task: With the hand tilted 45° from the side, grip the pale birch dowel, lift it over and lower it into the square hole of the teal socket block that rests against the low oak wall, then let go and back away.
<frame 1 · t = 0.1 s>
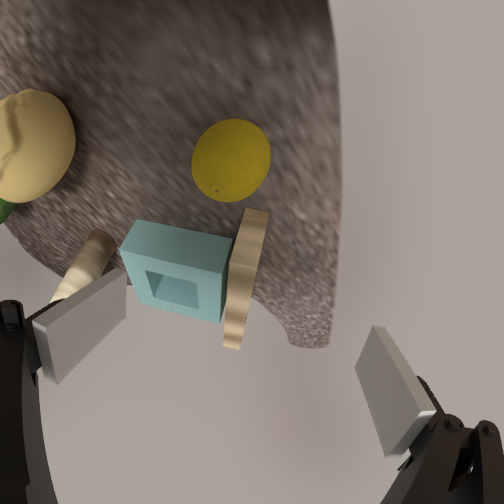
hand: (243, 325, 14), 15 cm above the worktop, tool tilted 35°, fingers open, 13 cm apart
socket block: (185, 259, 37), on the worktop
oak wall: (247, 269, 36), on the worktop
avocado: (14, 175, 31), on the worktop
dowel: (103, 240, 38), on the worktop
sculpture: (52, 121, 23), on the worktop
lemon: (244, 133, 23), on the worktop
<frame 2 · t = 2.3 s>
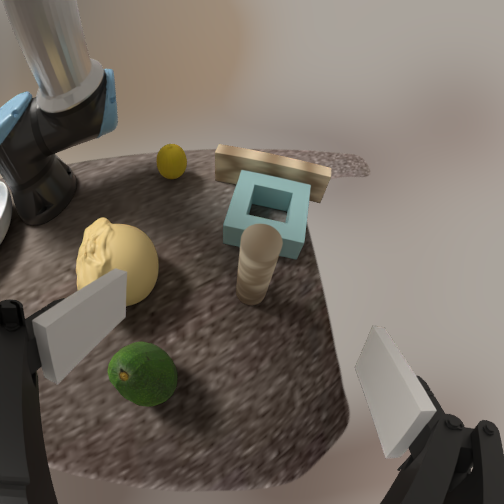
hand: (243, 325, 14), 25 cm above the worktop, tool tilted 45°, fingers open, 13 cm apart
socket block: (266, 221, 49), on the worktop
oak wall: (268, 186, 53), on the worktop
avocado: (155, 378, 35), on the worktop
dowel: (250, 291, 42), on the worktop
sculpture: (127, 279, 42), on the worktop
lemon: (174, 177, 53), on the worktop
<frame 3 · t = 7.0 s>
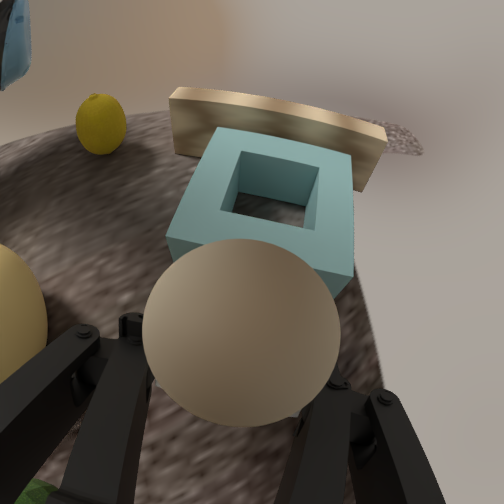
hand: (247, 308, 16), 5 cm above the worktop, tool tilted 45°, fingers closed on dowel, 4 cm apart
socket block: (266, 225, 25), on the worktop
oak wall: (270, 162, 29), on the worktop
dowel: (231, 380, 18), on the worktop, touching gripper
sculpture: (14, 335, 17), on the worktop
lemon: (110, 153, 28), on the worktop
when the fingers open (8 cm above the worktop, at t = 12.6 s): dowel drops 3 cm, resting in socket block.
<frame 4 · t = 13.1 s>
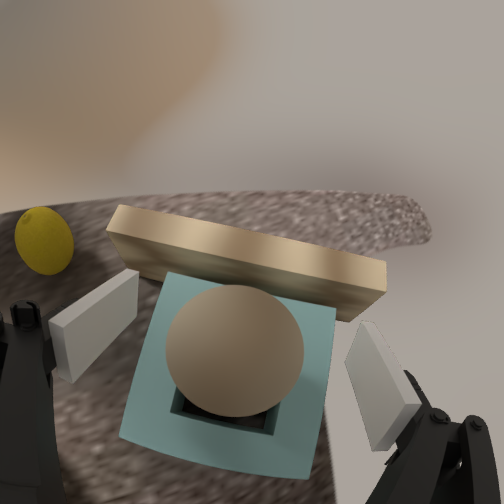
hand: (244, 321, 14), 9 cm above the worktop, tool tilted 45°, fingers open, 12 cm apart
socket block: (231, 383, 21), on the worktop
oak wall: (240, 287, 25), on the worktop
dowel: (231, 384, 21), resting in socket block
lemon: (64, 263, 24), on the worktop
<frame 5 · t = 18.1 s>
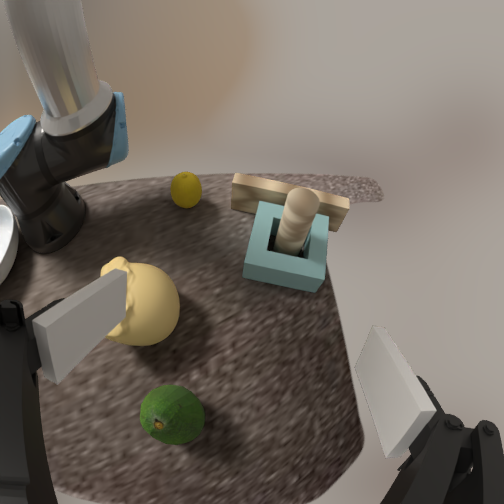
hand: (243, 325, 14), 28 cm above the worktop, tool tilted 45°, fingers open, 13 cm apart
socket block: (284, 253, 49), on the worktop
oak wall: (285, 215, 53), on the worktop
avocado: (179, 414, 34), on the worktop
dowel: (284, 254, 49), resting in socket block
sculpture: (146, 315, 41), on the worktop
lemon: (188, 205, 53), on the worktop
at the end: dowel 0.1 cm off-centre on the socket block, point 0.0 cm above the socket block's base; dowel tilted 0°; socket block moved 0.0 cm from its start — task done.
